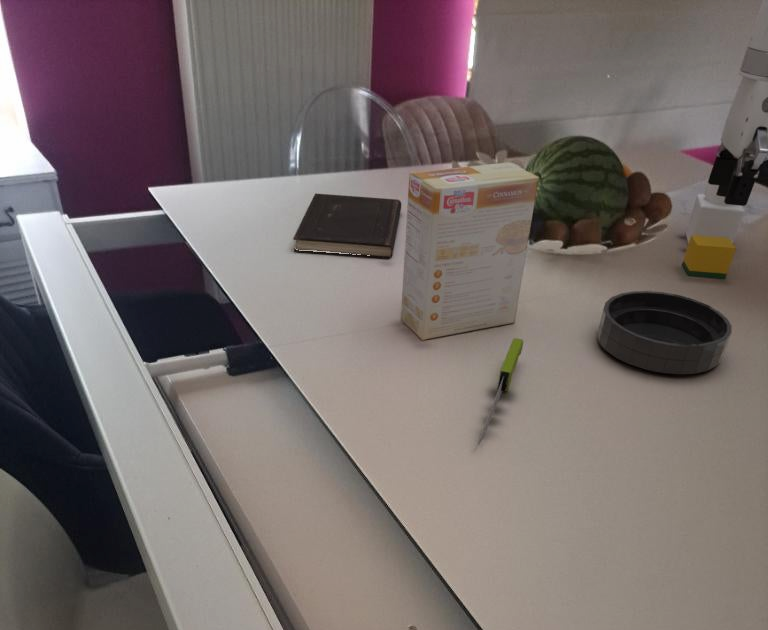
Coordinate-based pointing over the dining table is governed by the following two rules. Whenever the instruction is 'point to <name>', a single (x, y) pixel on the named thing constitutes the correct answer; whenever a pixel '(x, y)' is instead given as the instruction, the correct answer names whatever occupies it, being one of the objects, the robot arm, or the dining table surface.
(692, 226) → the medicine bottle
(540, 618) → the dining table surface
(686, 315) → the bowl
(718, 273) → the sponge
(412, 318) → the coffeecake box
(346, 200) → the hardcover book
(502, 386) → the kitchen knife
